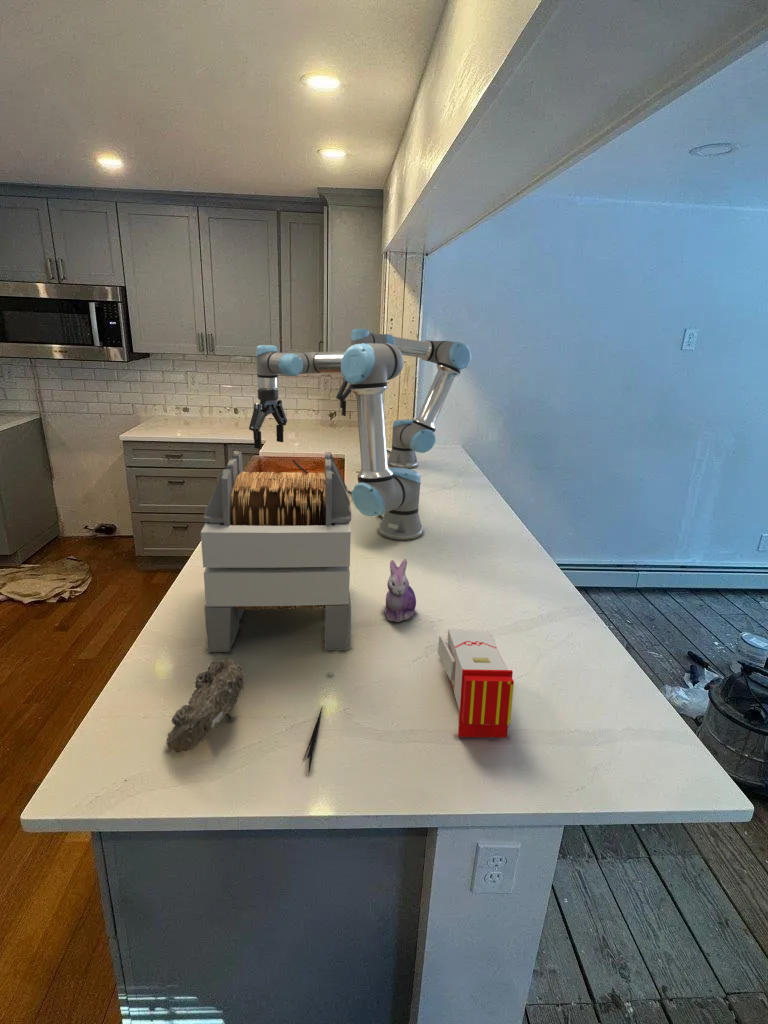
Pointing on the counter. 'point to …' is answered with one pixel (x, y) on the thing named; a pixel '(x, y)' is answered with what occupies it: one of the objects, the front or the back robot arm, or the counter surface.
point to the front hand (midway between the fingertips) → (269, 445)
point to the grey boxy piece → (277, 549)
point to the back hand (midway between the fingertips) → (358, 415)
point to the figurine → (399, 594)
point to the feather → (313, 740)
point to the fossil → (206, 705)
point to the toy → (478, 682)
